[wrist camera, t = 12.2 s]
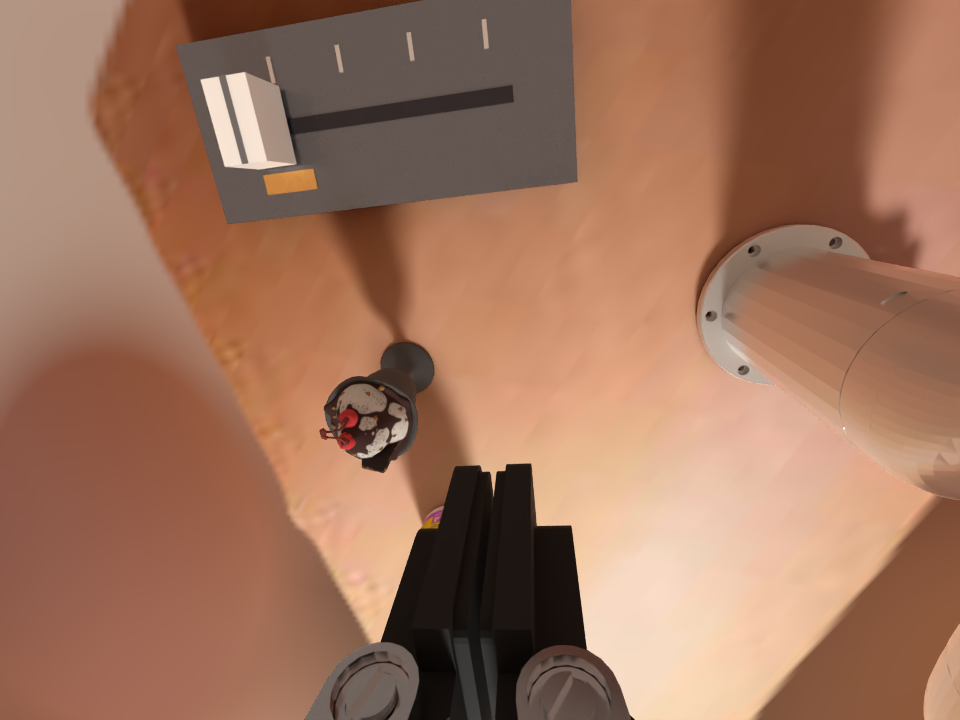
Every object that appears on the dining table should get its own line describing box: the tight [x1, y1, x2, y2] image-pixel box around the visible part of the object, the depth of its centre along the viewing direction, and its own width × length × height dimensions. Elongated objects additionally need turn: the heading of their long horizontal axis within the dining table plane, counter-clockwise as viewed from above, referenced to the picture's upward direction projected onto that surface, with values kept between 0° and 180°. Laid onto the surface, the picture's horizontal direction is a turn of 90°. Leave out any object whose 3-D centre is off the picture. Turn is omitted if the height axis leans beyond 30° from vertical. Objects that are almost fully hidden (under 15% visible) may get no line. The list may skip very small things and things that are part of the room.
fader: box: [201, 72, 297, 169], centre depth 30 cm, size 3×5×4 cm, turn 7°
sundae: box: [320, 343, 434, 473], centre depth 34 cm, size 7×7×15 cm
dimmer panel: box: [176, 0, 577, 224], centre depth 33 cm, size 27×12×3 cm, turn 97°
